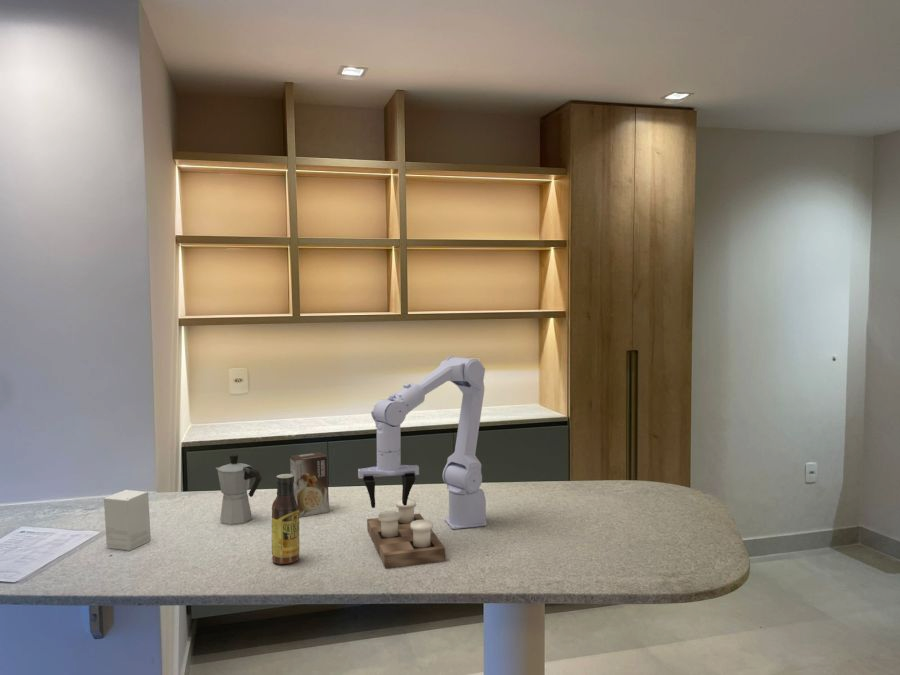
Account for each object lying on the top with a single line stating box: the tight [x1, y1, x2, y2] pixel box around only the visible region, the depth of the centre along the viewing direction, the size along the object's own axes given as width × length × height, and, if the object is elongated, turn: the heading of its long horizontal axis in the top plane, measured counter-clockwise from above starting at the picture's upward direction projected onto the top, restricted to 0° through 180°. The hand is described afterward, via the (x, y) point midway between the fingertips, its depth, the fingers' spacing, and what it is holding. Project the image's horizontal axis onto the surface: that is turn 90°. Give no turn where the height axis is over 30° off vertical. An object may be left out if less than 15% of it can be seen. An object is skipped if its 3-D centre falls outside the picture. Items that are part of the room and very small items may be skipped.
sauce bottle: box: [271, 473, 300, 565], centre depth 158 cm, size 7×6×20 cm
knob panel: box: [366, 513, 446, 569], centre depth 168 cm, size 14×25×3 cm, turn 16°
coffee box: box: [289, 451, 330, 518], centre depth 192 cm, size 9×6×16 cm
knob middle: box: [378, 510, 400, 538], centre depth 166 cm, size 5×5×5 cm
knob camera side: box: [410, 519, 434, 548], centre depth 160 cm, size 5×5×5 cm
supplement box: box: [103, 489, 152, 552], centre depth 170 cm, size 7×7×13 cm
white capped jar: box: [395, 497, 417, 523], centre depth 176 cm, size 5×5×5 cm
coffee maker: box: [215, 453, 263, 526], centre depth 186 cm, size 15×9×18 cm, turn 68°
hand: (388, 505), depth 166 cm, fingers open, 7 cm apart
